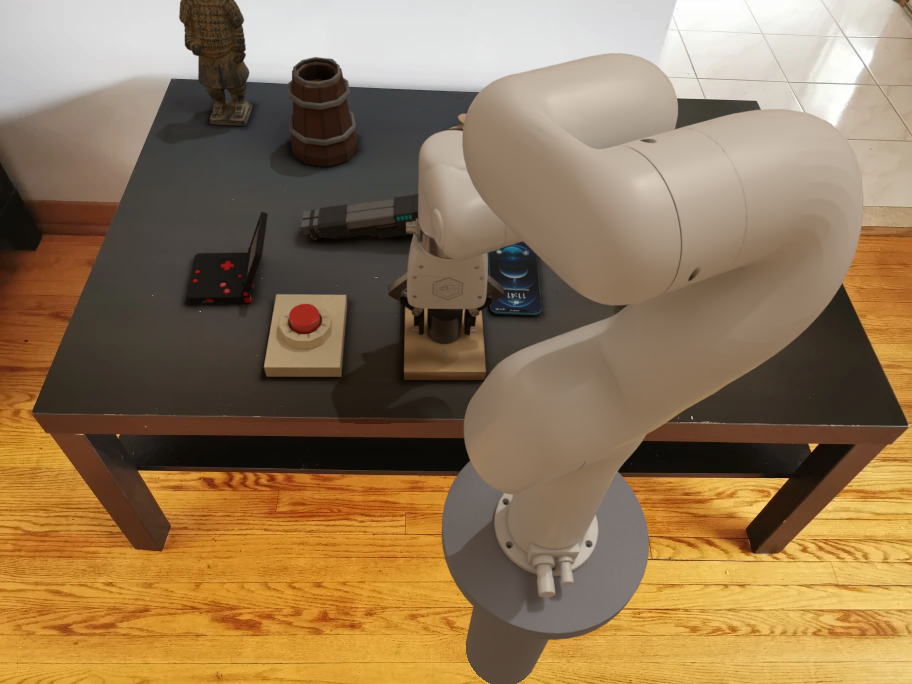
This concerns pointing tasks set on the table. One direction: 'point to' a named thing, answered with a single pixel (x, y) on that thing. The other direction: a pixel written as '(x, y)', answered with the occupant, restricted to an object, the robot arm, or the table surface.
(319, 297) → the block
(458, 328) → the dial
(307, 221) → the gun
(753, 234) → the robot arm
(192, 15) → the statue
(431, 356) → the dial panel
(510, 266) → the smartphone
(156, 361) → the table surface
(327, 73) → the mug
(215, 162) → the table surface
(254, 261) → the handheld gaming console
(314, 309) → the press button
